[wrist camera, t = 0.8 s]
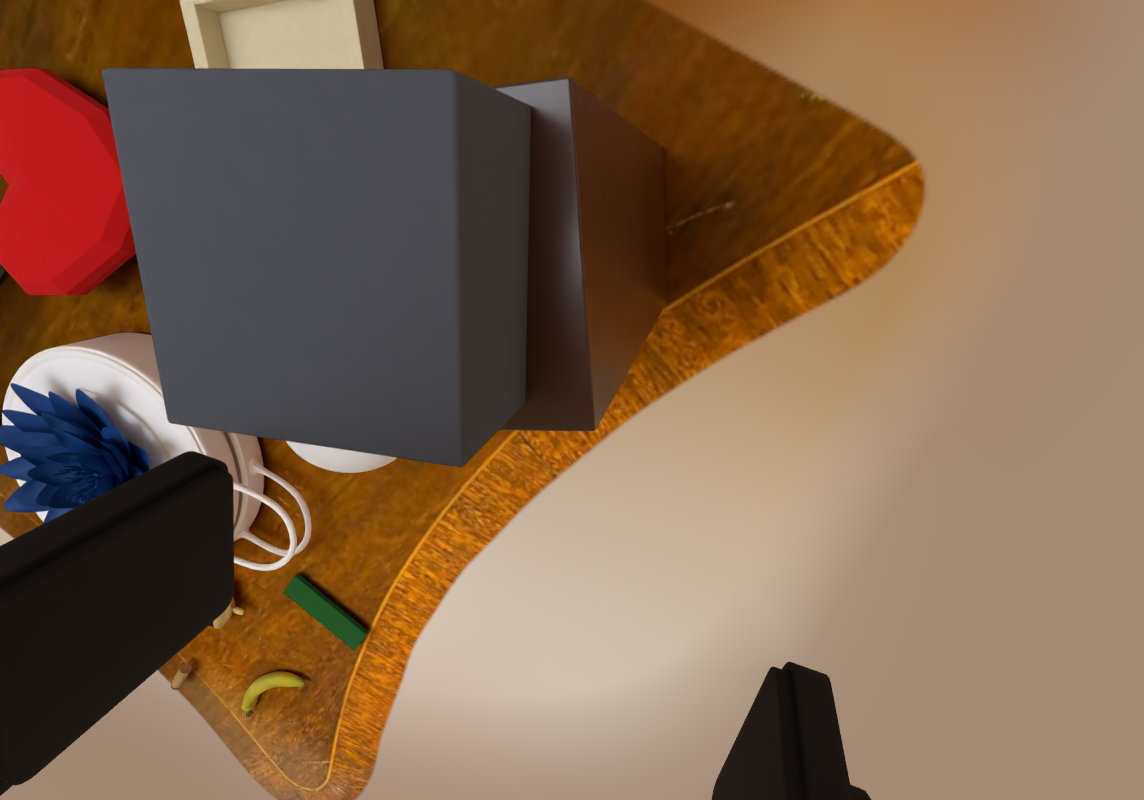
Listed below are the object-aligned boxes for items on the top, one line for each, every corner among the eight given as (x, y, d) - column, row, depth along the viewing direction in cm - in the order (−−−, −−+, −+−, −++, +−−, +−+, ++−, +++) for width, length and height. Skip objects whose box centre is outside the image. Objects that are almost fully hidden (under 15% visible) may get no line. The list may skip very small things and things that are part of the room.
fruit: (290, 673, 43) (311, 706, 44) (300, 661, 44) (320, 694, 45) (222, 691, 45) (243, 722, 46) (233, 680, 46) (253, 710, 47)
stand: (663, 148, 28) (570, 75, 11) (668, 301, 30) (594, 432, 13) (518, 162, 29) (250, 118, 13) (532, 306, 32) (317, 428, 15)
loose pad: (532, 104, 11) (455, 68, 8) (526, 404, 13) (463, 469, 10) (257, 100, 13) (97, 67, 9) (289, 374, 15) (166, 424, 11)
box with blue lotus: (-50, 535, 38) (223, 687, 36) (-55, 309, 32) (272, 479, 30) (62, 486, 44) (298, 614, 42) (75, 290, 38) (351, 430, 36)
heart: (177, 79, 34) (23, 88, 35) (111, 47, 30) (-62, 59, 31) (199, 294, 36) (51, 296, 37) (139, 293, 32) (-26, 295, 33)
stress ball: (456, 361, 37) (415, 317, 31) (428, 490, 35) (378, 472, 29) (343, 349, 38) (281, 304, 32) (310, 473, 36) (237, 452, 30)
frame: (369, -32, 28) (345, -47, 27) (418, 294, 33) (401, 299, 31) (207, 0, 31) (176, -12, 29) (274, 301, 35) (251, 306, 33)
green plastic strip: (301, 570, 41) (290, 586, 42) (294, 575, 41) (283, 592, 42) (372, 628, 41) (359, 644, 42) (366, 635, 41) (353, 650, 41)
